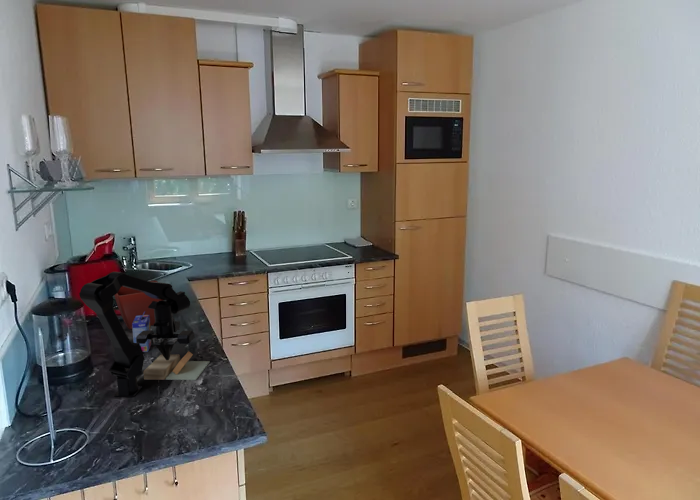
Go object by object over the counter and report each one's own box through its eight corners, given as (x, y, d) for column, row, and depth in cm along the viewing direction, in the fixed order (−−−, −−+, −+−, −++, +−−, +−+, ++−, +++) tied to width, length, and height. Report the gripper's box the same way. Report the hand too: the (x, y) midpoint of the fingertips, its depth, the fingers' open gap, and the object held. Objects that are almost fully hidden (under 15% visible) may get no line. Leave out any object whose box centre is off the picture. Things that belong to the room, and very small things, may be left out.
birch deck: (164, 379, 166) (163, 371, 166) (144, 379, 167) (143, 371, 166) (180, 362, 180) (179, 354, 180) (161, 361, 180) (161, 354, 180)
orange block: (172, 371, 169) (177, 374, 169) (180, 360, 168) (184, 364, 168) (181, 361, 177) (185, 364, 177) (188, 351, 176) (193, 354, 176)
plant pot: (159, 313, 235) (156, 279, 231) (168, 324, 219) (165, 288, 216) (116, 321, 225) (111, 286, 221) (122, 334, 209) (118, 296, 206)
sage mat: (196, 379, 166) (196, 378, 166) (165, 379, 166) (165, 378, 166) (209, 362, 180) (209, 361, 179) (181, 362, 180) (181, 361, 180)
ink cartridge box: (149, 351, 190) (145, 316, 187) (134, 353, 189) (130, 317, 186) (152, 342, 199) (149, 308, 196) (137, 344, 198) (134, 309, 195)
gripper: (198, 310, 177) (201, 350, 180) (147, 310, 178) (151, 350, 181) (186, 320, 166) (190, 363, 169) (133, 320, 167) (137, 363, 170)
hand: (167, 359), depth 173 cm, fingers closed
